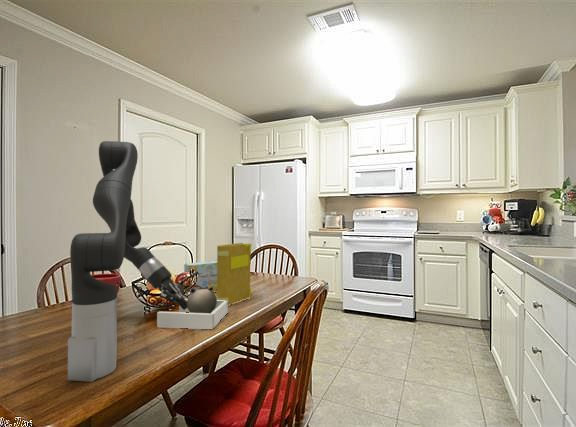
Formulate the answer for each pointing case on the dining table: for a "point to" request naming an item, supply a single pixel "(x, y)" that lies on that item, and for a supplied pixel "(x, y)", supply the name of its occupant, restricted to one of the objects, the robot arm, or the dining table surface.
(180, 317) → the box
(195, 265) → the snack box
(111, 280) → the plant pot
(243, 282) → the book
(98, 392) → the dining table surface
